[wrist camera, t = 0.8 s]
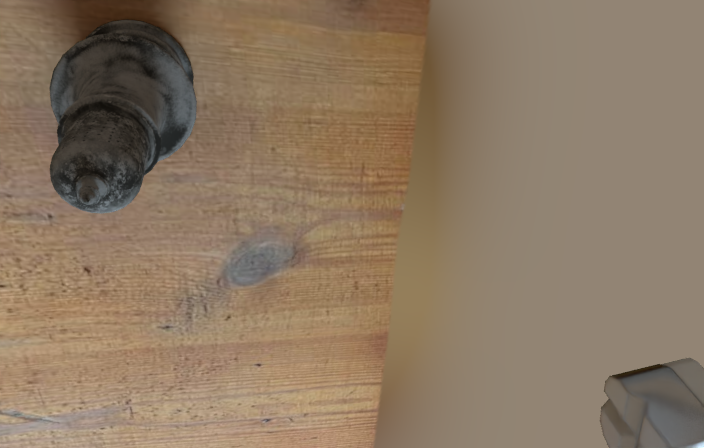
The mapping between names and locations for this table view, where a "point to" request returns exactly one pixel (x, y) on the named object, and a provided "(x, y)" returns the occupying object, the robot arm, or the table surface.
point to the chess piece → (118, 112)
